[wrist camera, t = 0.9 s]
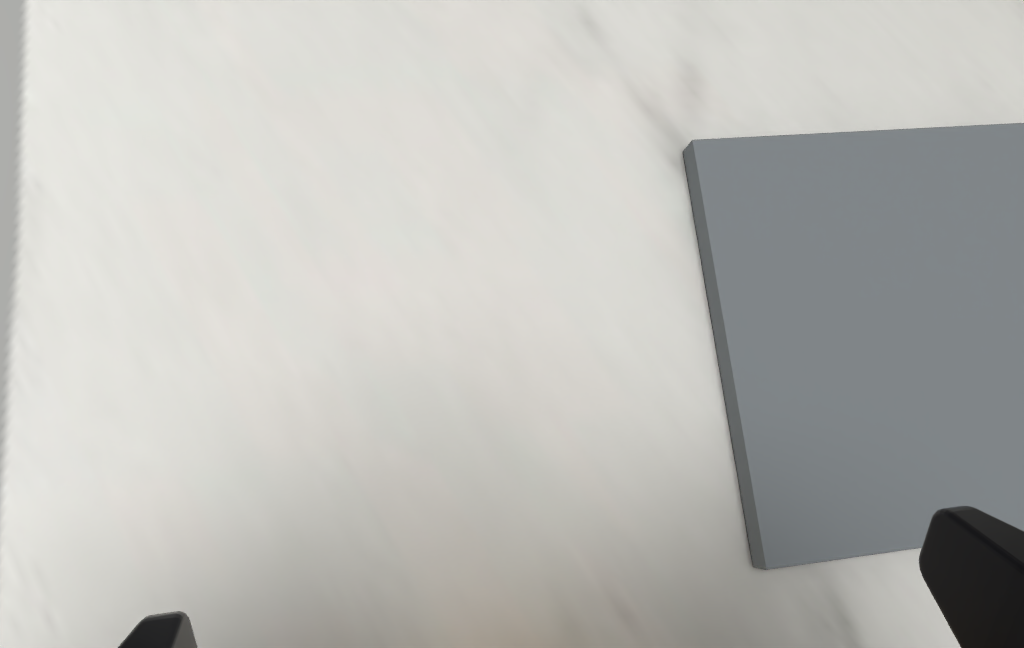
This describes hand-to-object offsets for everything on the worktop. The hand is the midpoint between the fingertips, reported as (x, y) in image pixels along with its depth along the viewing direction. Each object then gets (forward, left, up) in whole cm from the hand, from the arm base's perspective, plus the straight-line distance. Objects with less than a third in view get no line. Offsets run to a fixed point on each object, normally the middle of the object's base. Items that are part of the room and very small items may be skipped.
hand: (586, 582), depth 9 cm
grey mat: (+4, -13, -11) cm, 18 cm away
